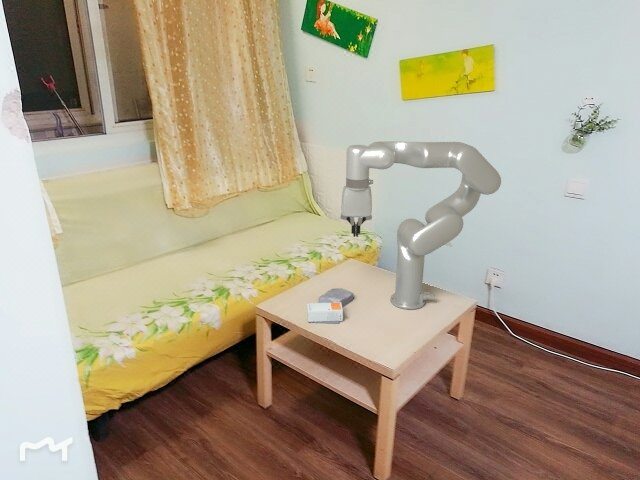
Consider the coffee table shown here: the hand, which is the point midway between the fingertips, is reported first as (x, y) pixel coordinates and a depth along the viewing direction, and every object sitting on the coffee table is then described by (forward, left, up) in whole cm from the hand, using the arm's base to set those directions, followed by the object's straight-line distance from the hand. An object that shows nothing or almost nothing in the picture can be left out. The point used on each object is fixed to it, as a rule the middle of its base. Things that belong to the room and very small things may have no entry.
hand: (355, 235), depth 160 cm
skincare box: (+4, +9, -24) cm, 26 cm away
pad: (+9, +9, -27) cm, 30 cm away
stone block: (+7, -2, -28) cm, 29 cm away
